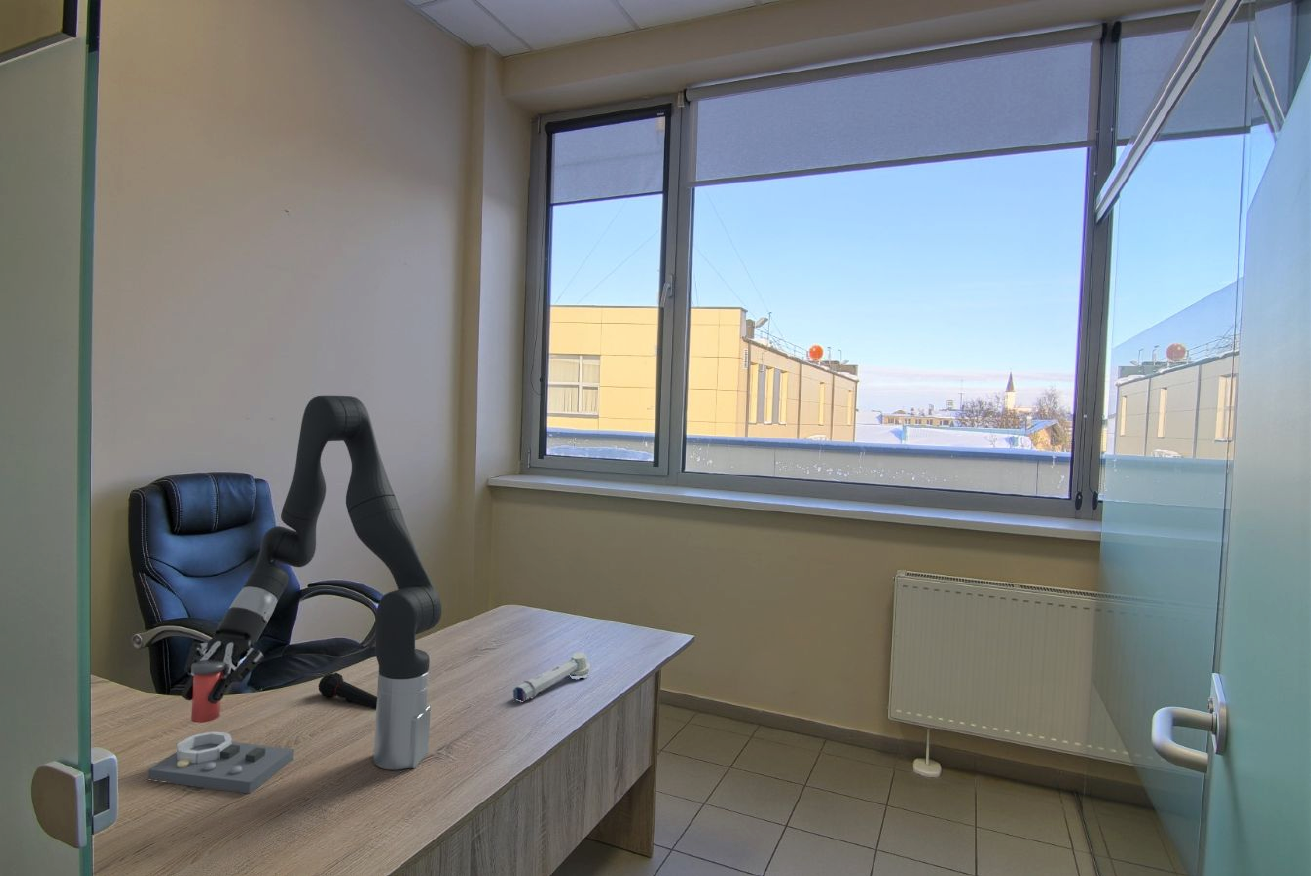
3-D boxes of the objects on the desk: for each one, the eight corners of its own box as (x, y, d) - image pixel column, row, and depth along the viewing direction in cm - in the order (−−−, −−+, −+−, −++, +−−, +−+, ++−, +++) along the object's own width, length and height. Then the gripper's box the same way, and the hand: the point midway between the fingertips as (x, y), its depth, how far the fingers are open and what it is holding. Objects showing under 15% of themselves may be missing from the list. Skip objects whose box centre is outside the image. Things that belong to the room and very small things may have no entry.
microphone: (395, 721, 156) (325, 693, 162) (404, 695, 157) (335, 668, 163) (380, 723, 151) (309, 694, 157) (390, 696, 152) (319, 669, 158)
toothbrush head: (510, 684, 164) (578, 645, 185) (511, 710, 165) (579, 668, 186) (526, 690, 161) (593, 650, 182) (527, 716, 162) (594, 673, 183)
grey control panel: (292, 759, 130) (294, 739, 130) (249, 793, 118) (250, 771, 118) (199, 748, 132) (200, 728, 132) (147, 780, 120) (148, 759, 120)
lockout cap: (228, 713, 129) (231, 660, 129) (208, 725, 124) (211, 670, 124) (202, 709, 130) (205, 657, 130) (181, 721, 125) (184, 667, 124)
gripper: (205, 602, 134) (151, 687, 123) (274, 609, 133) (225, 696, 122) (223, 621, 140) (173, 704, 128) (289, 628, 139) (244, 713, 127)
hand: (199, 699), depth 125 cm, fingers closed on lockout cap, 4 cm apart
